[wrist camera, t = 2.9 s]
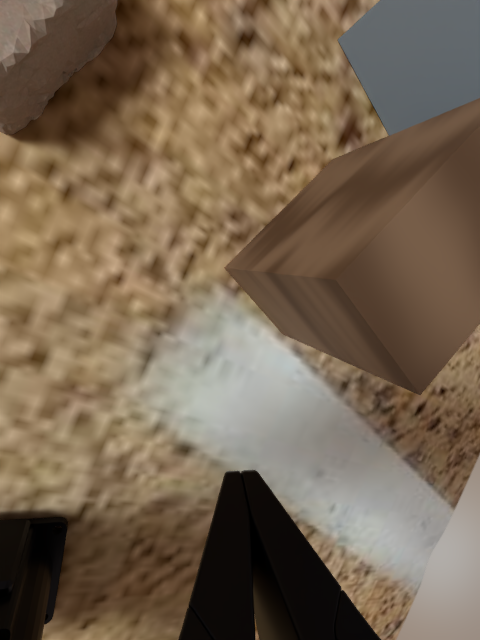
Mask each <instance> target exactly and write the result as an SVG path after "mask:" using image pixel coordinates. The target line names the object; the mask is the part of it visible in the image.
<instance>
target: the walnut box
mask: <svg viewBox="0 0 480 640" xmlns="http://www.w3.org/2000/svg"><path fill="white" fill-rule="evenodd" d="M225 269H226V270H227V271H228V273H229V274H230V275H231V276H232V277H233V278H234V279H235V281H236V282H237V283H238V284H239V285H240V286H241V287H242V288H243V290H244V291H245V292H246V293H247V294H248V295H249V296H250V298H251V299H252V300H253V301H254V302H255V303H256V304H257V305H258V307H259V308H260V309H261V310H262V311H263V312H264V313H265V315H266V316H267V317H268V318H269V319H270V320H271V321H272V322H273V324H274V325H275V326H276V327H277V328H278V329H279V330H280V332H281V333H282V334H284V335H286V336H288V337H290V338H293V339H295V340H297V341H299V342H302V343H304V344H306V345H308V346H311V347H313V348H315V349H317V350H320V351H322V352H324V353H326V354H329V355H331V356H333V357H335V358H338V359H340V360H342V361H344V362H347V363H349V364H351V365H353V366H356V367H358V368H360V369H362V370H365V371H367V372H369V373H371V374H374V375H376V376H378V377H380V378H383V379H385V380H387V381H389V382H392V383H394V384H396V385H398V386H401V387H403V388H405V389H407V390H410V391H412V392H414V393H416V394H419V395H421V394H422V392H423V391H424V390H425V389H426V388H427V386H428V385H429V384H430V383H431V382H432V380H433V379H434V378H435V377H436V376H437V374H438V373H439V372H440V371H441V370H442V368H443V367H444V366H445V365H446V364H447V362H448V361H449V360H450V359H451V357H452V356H453V355H454V354H455V353H456V351H457V350H458V349H459V348H460V347H461V345H462V344H463V343H464V342H465V341H466V339H467V338H468V337H469V336H470V335H471V333H472V332H473V331H474V330H475V329H476V327H477V326H478V325H479V324H480V98H478V99H476V100H474V101H471V102H469V103H466V104H464V105H462V106H459V107H457V108H455V109H452V110H450V111H447V112H445V113H443V114H440V115H438V116H435V117H433V118H431V119H428V120H426V121H423V122H421V123H419V124H416V125H414V126H411V127H409V128H407V129H404V130H402V131H400V132H397V133H395V134H392V135H390V136H388V137H385V138H383V139H380V140H378V141H376V142H373V143H371V144H368V145H366V146H364V147H361V148H359V149H356V150H354V151H352V152H349V153H347V154H345V155H342V156H340V157H337V158H335V159H333V160H332V161H331V162H330V163H329V164H328V165H327V166H326V167H325V168H324V169H323V170H322V171H321V172H320V173H319V174H318V175H317V176H316V177H315V178H314V179H313V180H312V181H311V182H310V183H309V184H308V185H307V186H306V187H305V188H304V189H303V190H302V191H301V192H300V193H299V194H298V195H297V196H296V197H295V198H294V199H293V200H292V201H291V202H290V203H289V204H288V205H287V206H286V207H285V208H284V209H283V210H282V211H281V212H280V213H279V214H278V215H277V216H276V217H275V218H274V219H273V220H272V221H271V222H270V223H269V224H268V225H267V226H266V227H265V228H264V229H263V230H262V231H261V232H260V233H259V234H258V235H257V236H256V237H255V238H254V239H253V240H252V241H251V242H250V243H249V244H248V245H247V246H246V247H245V248H244V249H243V250H242V251H241V252H240V253H239V254H238V255H237V256H236V257H235V258H234V259H233V260H232V261H231V262H230V263H229V264H228V265H227V266H226V267H225Z"/></svg>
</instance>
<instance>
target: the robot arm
mask: <svg viewBox="0 0 480 640" xmlns="http://www.w3.org/2000/svg"><path fill="white" fill-rule="evenodd" d="M56 526H61V528H60V529H55V528H54V527H56ZM67 527H68V521H67V520H66V519H65V518H63V517H53V518H37V519H16V520H0V640H42V634H43V627H44V624H47V623H48V622H50V620H51V619H52V617H53V613H54V607H55V601H56V595H57V589H58V583H59V577H60V571H61V565H62V558H63V552H64V546H65V540H66V534H67ZM254 614H255V618H254ZM255 619H256V625H257V630H258V635H259V640H381V639H380V638H379V637H378V635H377V634H376V633H375V632H374V630H373V629H372V628H371V627H370V625H369V624H368V623H367V621H366V620H365V619H364V617H363V616H362V615H361V613H360V612H359V611H358V609H357V608H356V607H355V605H354V604H353V603H352V601H351V600H350V598H349V597H348V596H347V594H346V593H345V592H344V591H343V590H342V591H341V586H340V585H339V583H338V582H337V581H336V579H335V578H334V577H333V575H332V574H331V572H330V571H329V570H328V568H327V567H326V566H325V564H324V563H323V561H322V560H321V559H320V557H319V556H318V554H317V553H316V552H315V550H314V549H313V548H312V546H311V545H310V543H309V542H308V541H307V539H306V538H305V537H304V535H303V534H302V532H301V531H300V530H299V528H298V527H297V525H296V524H295V523H294V521H293V520H292V519H291V517H290V516H289V514H288V513H287V512H286V510H285V509H284V508H283V506H282V505H281V503H280V502H279V501H278V499H277V498H276V496H275V495H274V494H273V492H272V491H271V490H270V488H269V487H268V485H267V484H266V483H265V481H264V480H263V479H262V477H261V476H260V474H259V473H258V472H257V471H256V470H244V471H242V472H240V471H227V472H226V473H225V475H224V479H223V482H222V486H221V489H220V493H219V497H218V500H217V504H216V508H215V511H214V515H213V518H212V522H211V526H210V529H209V533H208V537H207V540H206V544H205V547H204V551H203V555H202V558H201V562H200V566H199V569H198V573H197V576H196V580H195V584H194V587H193V591H192V595H191V598H190V602H189V608H188V609H187V612H186V616H185V619H184V623H183V626H182V630H181V633H180V636H179V640H255Z"/></svg>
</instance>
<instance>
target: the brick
mask: <svg viewBox="0 0 480 640" xmlns="http://www.w3.org/2000/svg"><path fill="white" fill-rule="evenodd" d="M117 1H118V0H0V132H2V133H4V134H14V133H16V132H18V131H19V130H21V129H23V128H25V127H26V126H27V124H28V123H29V122H30V120H36V119H37V118H38V117H39V116H41V114H42V113H43V110H44V108H45V106H46V105H48V100H49V99H51V98H52V97H54V93H55V91H57V90H58V89H59V88H60V87H61V86H62V85H63V84H65V83H66V82H67V81H68V80H69V77H71V76H72V75H73V73H74V72H77V71H79V70H80V69H81V68H82V67H83V66H84V65H85V64H86V63H87V62H89V61H91V60H93V59H94V58H95V57H97V56H98V55H99V54H100V53H101V51H102V50H103V48H104V46H105V45H106V44H107V43H108V42H109V41H110V39H111V38H112V37H113V35H114V32H115V29H116V26H117V20H116V13H115V10H116V7H117Z"/></svg>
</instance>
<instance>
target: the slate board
mask: <svg viewBox="0 0 480 640" xmlns="http://www.w3.org/2000/svg"><path fill="white" fill-rule="evenodd" d="M338 41H339V43H340V45H341V47H342V49H343V51H344V52H345V54H346V56H347V58H348V60H349V62H350V64H351V65H352V67H353V69H354V71H355V73H356V75H357V77H358V78H359V80H360V82H361V84H362V86H363V88H364V90H365V91H366V93H367V95H368V97H369V99H370V101H371V103H372V104H373V106H374V108H375V110H376V112H377V114H378V116H379V118H380V119H381V121H382V123H383V125H384V127H385V129H386V131H387V132H388V134H389V136H390V135H392V134H395V133H397V132H400V131H402V130H404V129H407V128H409V127H411V126H414V125H416V124H419V123H421V122H423V121H426V120H428V119H431V118H433V117H435V116H438V115H440V114H443V113H445V112H447V111H450V110H452V109H455V108H457V107H459V106H462V105H464V104H466V103H469V102H471V101H474V100H476V99H478V98H480V0H380V1H379V2H378V3H377V4H376V5H375V6H373V7H372V8H371V9H370V10H369V11H368V12H367V13H366V14H365V15H364V16H363V17H362V18H361V19H359V20H358V21H357V22H356V23H355V24H354V25H353V26H352V27H351V28H350V29H349V30H348V31H347V32H346V33H344V34H343V35H342V36H341V37H340V38H339V39H338Z"/></svg>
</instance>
